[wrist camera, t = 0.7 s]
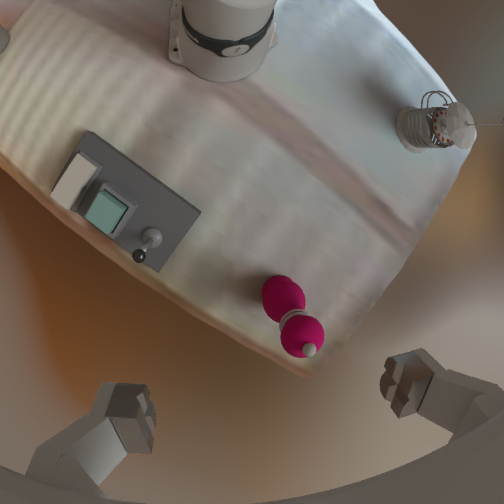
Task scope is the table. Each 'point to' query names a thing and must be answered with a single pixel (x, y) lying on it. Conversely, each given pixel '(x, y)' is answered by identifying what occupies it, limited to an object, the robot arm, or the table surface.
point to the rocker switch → (73, 182)
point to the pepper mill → (292, 317)
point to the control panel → (134, 201)
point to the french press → (436, 126)
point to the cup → (3, 38)
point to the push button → (106, 212)
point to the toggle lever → (142, 251)
